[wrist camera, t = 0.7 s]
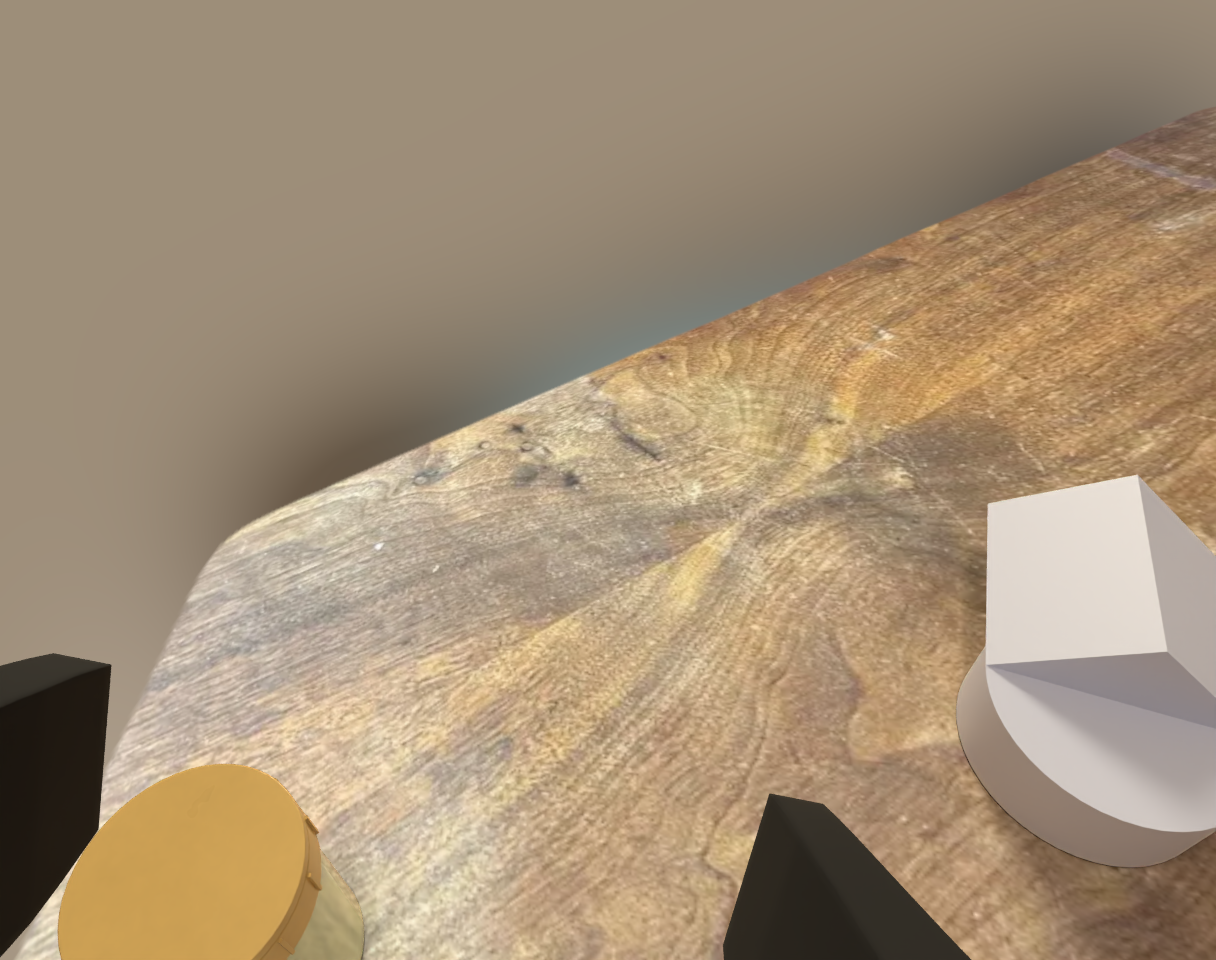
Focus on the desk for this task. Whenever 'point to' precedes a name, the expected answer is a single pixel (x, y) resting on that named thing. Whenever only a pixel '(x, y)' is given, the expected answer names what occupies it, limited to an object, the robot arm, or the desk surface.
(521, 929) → the desk surface
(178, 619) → the desk surface
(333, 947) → the jar
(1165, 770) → the wedge on round base
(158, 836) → the lid
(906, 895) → the robot arm
